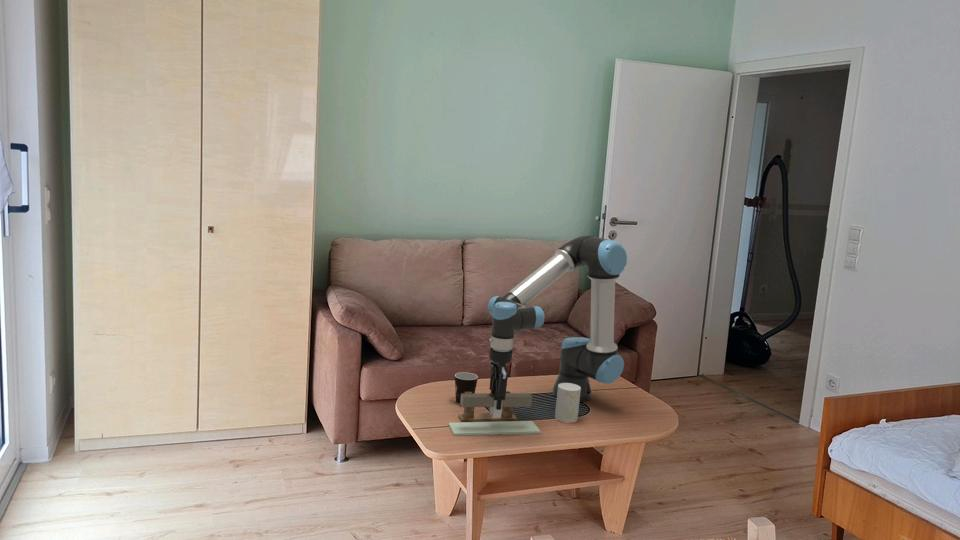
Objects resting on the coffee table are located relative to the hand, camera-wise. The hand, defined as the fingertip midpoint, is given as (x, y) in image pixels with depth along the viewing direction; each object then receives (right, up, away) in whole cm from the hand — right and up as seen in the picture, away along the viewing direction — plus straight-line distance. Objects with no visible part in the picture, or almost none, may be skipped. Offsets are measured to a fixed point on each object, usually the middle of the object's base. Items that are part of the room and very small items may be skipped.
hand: (495, 415), depth 247 cm
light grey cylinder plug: (+26, -5, +16) cm, 31 cm away
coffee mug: (-11, 0, +26) cm, 28 cm away
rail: (0, +4, -1) cm, 4 cm away
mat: (0, -5, +1) cm, 5 cm away
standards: (-2, -3, +10) cm, 10 cm away
